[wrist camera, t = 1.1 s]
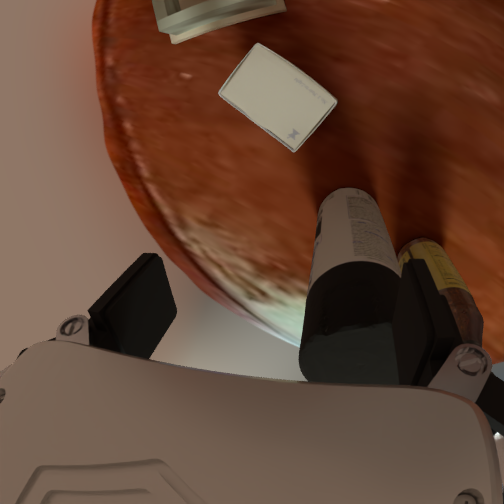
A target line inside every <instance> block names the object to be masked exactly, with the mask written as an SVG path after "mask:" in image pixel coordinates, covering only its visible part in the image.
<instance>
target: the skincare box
mask: <svg viewBox="0 0 504 504" xmlns="http://www.w3.org/2000/svg"><path fill="white" fill-rule="evenodd" d="M219 96H220V97H222V98H223V99H224V100H225V101H227V102H228V103H229V104H231V105H232V106H233V107H235V108H236V109H237V110H239V111H240V112H241V113H243V114H244V115H245V116H246V117H248V118H249V119H250V120H252V121H253V122H254V123H256V124H257V125H258V126H260V127H261V128H262V129H264V130H265V131H266V132H268V133H269V134H270V135H272V136H273V137H274V138H276V139H277V140H278V141H279V142H281V143H282V144H283V145H285V146H286V147H287V148H289V149H290V150H291V151H292V152H296V151H297V150H298V148H299V147H300V146H301V145H302V144H303V143H304V142H305V141H306V140H307V139H308V137H309V136H310V135H311V134H312V133H313V132H314V131H315V130H316V128H317V127H318V126H319V125H320V124H321V123H322V121H323V120H324V119H325V118H326V117H327V115H328V114H329V113H330V112H331V111H332V109H333V108H334V107H335V106H336V104H337V98H335V97H334V96H333V95H332V94H331V93H330V92H328V91H327V90H326V89H325V88H324V87H322V86H321V85H320V84H319V83H317V82H316V81H315V80H314V79H312V78H311V77H310V76H308V75H307V74H306V73H304V72H303V71H302V70H300V69H299V68H298V67H296V66H295V65H294V64H292V63H291V62H289V61H288V60H286V59H285V58H283V57H282V56H280V55H278V54H277V53H275V52H273V51H272V50H270V49H268V48H267V47H265V46H263V45H262V44H260V43H257V44H255V45H254V47H253V48H252V49H251V50H250V52H249V53H248V54H247V55H246V56H245V57H244V59H243V60H242V61H241V62H240V64H239V65H238V66H237V67H236V69H235V70H234V71H233V73H232V74H231V75H230V76H229V78H228V79H227V80H226V82H225V83H224V85H223V86H222V87H221V89H220V90H219Z"/></svg>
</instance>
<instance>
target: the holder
mask: <svg viewBox="0 0 504 504" xmlns="http://www.w3.org/2000/svg"><path fill="white" fill-rule="evenodd" d="M152 3H153V7H154V12H155V16H156V20H157V24H158V28H159V31H160V32H164V33H168V34H170V38H171V42H172V44H177V43H180V42H182V41H185V40H188V39H190V38H193V37H196V36H198V35H201V34H204V33H207V32H210V31H213V30H216V29H219V28H222V27H226V26H229V25H232V24H236V23H239V22H243V21H246V20H250V19H254V18H258V17H262V16H266V15H271V14H275V13H280V12H285V11H287V9H286V6H285V3H284V0H152Z"/></svg>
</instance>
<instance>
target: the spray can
mask: <svg viewBox="0 0 504 504" xmlns="http://www.w3.org/2000/svg"><path fill="white" fill-rule="evenodd" d="M400 279H401V270H400V267H399V264H398V260H397V258H396V254H395V251H394V249H393V246H392V243H391V240H390V237H389V234H388V231H387V229H386V226H385V223H384V220H383V218H382V215H381V213H380V210H379V208H378V205H377V203H376V202H375V200H374V199H373V198H372V197H371V196H370V195H369V194H367V193H366V192H365V191H362V190H359V189H356V188H340V189H338V190H336V191H334V192H332V193H331V194H330V195H328V196H327V197H326V198H325V200H324V201H323V202H322V204H321V206H320V208H319V212H318V219H317V228H316V237H315V244H314V252H313V259H312V266H311V273H310V281H309V287H308V292H307V299H306V307H305V316H304V324H303V331H302V338H301V344H300V350H299V366H300V369H301V372H302V374H303V375H304V376H305V378H306V379H307V380H308V382H324V383H344V384H380V385H399V377H398V368H397V360H396V353H395V345H394V339H393V332H392V320H393V316H394V311H395V306H396V301H397V296H398V291H399V285H400Z"/></svg>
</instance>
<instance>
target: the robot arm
mask: <svg viewBox="0 0 504 504" xmlns="http://www.w3.org/2000/svg"><path fill="white" fill-rule="evenodd" d="M88 312H89V314H90V316H91V318H90V319H89V320H88V318H87V317H86V316H84V315H74V316H71V317H69V318H67V319H65V320H64V321H63V322H62V323H61V324H60V325H59V327H58V329H57V333H56V338H53V339H50V340H48V341H44V342H40V343H36V344H34V345H32V346H30V347H29V348H26V349H24V350H22V351H21V353H20V354H19V356H18V357H17V359H16V361H15V362H14V363H13V364H11V365H10V366H8V367H7V368H5V369H4V370H2V371H0V504H504V381H502V380H501V379H499V378H498V377H496V376H495V375H493V374H492V373H490V372H491V369H492V360H491V358H490V356H489V354H488V353H487V352H486V351H485V350H484V349H483V348H481V347H480V346H477V345H474V344H468V343H467V344H464V343H463V340H462V337H461V334H460V332H459V329H458V326H457V324H456V321H455V318H454V316H453V313H452V311H451V308H450V306H449V303H448V301H447V298H446V297H445V295H443V294H442V295H440V294H439V291H438V289H437V286H436V284H435V282H434V279H433V277H432V275H431V272H430V270H429V268H428V266H427V264H426V261H425V260H424V259H409V260H408V262H404V263H403V267H402V273H401V279H400V285H399V291H398V296H397V301H396V306H395V311H394V316H393V320H392V332H393V339H394V345H395V353H396V360H397V368H398V377H399V385H380V384H344V383H324V382H306V381H293V380H282V379H272V378H262V377H253V376H245V375H237V374H230V373H223V372H216V371H209V370H203V369H197V368H192V367H185V366H180V365H174V364H170V363H165V362H160V361H155V360H150V359H149V358H150V356H151V355H152V353H153V352H154V350H155V348H156V347H157V345H158V344H159V342H160V341H161V339H162V337H163V336H164V334H165V333H166V331H167V329H168V328H169V326H170V325H171V323H172V322H173V320H174V319H175V317H176V314H177V308H176V305H175V302H174V298H173V295H172V292H171V288H170V285H169V281H168V278H167V275H166V271H165V268H164V264H163V260H162V258H161V257H159V256H158V254H156V253H143V254H142V255H141V256H140V257H139V258H138V259H137V260H136V261H135V262H134V263H133V264H132V265H131V266H130V267H129V268H128V269H127V270H126V271H125V272H124V273H123V274H122V275H121V276H120V277H119V278H118V279H117V280H116V281H115V282H114V283H113V284H112V285H111V286H110V287H109V288H108V289H107V290H106V291H105V292H104V294H103V295H102V296H101V297H100V298H99V299H98V300H97V301H96V302H95V303H94V304H93V305H92V306H91V307H90V308H89V310H88ZM502 483H503V493H502Z"/></svg>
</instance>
